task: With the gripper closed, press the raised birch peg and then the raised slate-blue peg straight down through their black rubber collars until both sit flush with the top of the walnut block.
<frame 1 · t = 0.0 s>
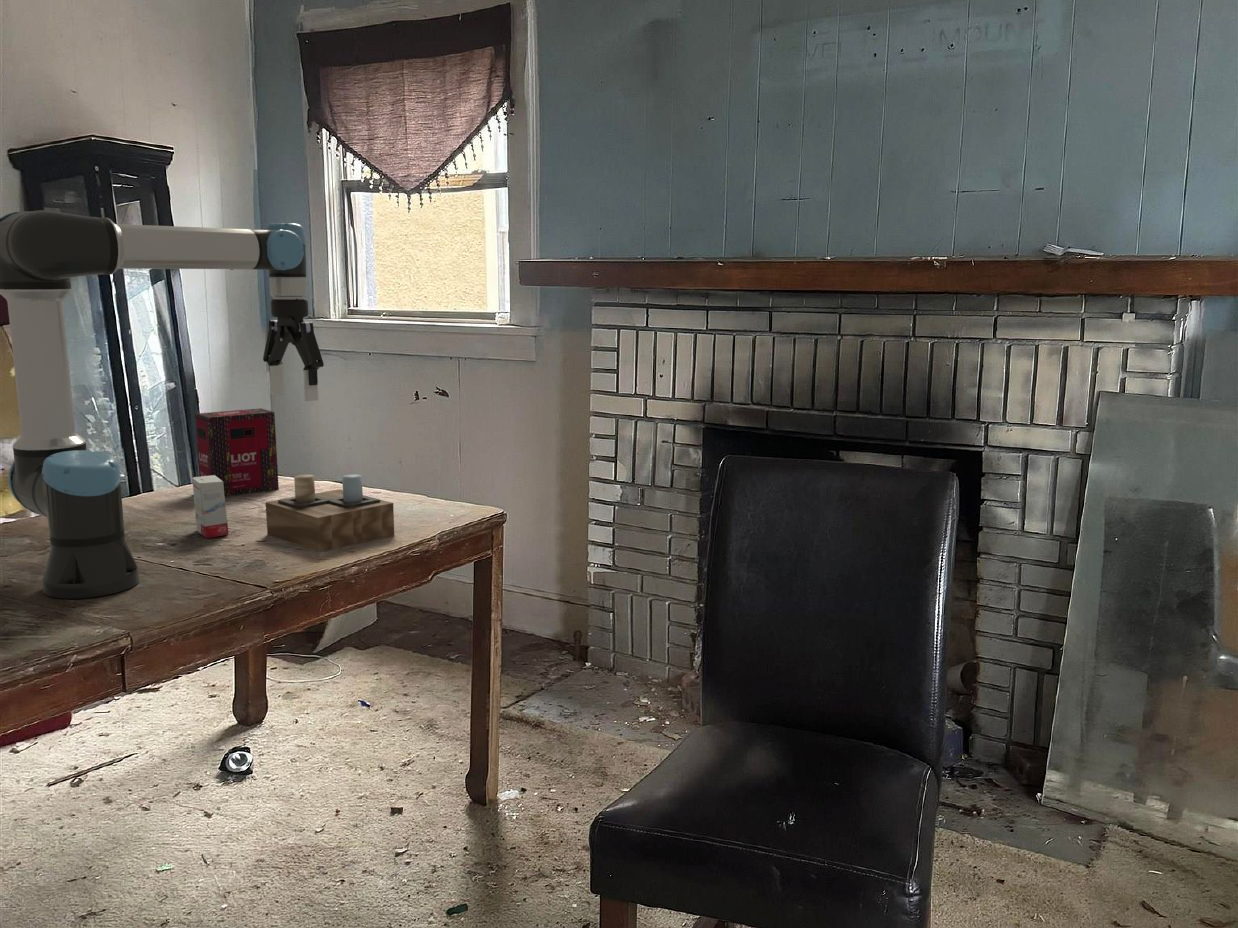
hand: (294, 398, 219), 28 cm above the table, fingers open, 13 cm apart
birch peg rear: (305, 494, 213), point 9 cm above the table, slide at 5.0 cm
walnut block: (330, 534, 215), on the table
slate peg front: (352, 493, 214), point 9 cm above the table, slide at 5.0 cm
box: (240, 491, 257), on the table
ink box: (211, 534, 216), on the table
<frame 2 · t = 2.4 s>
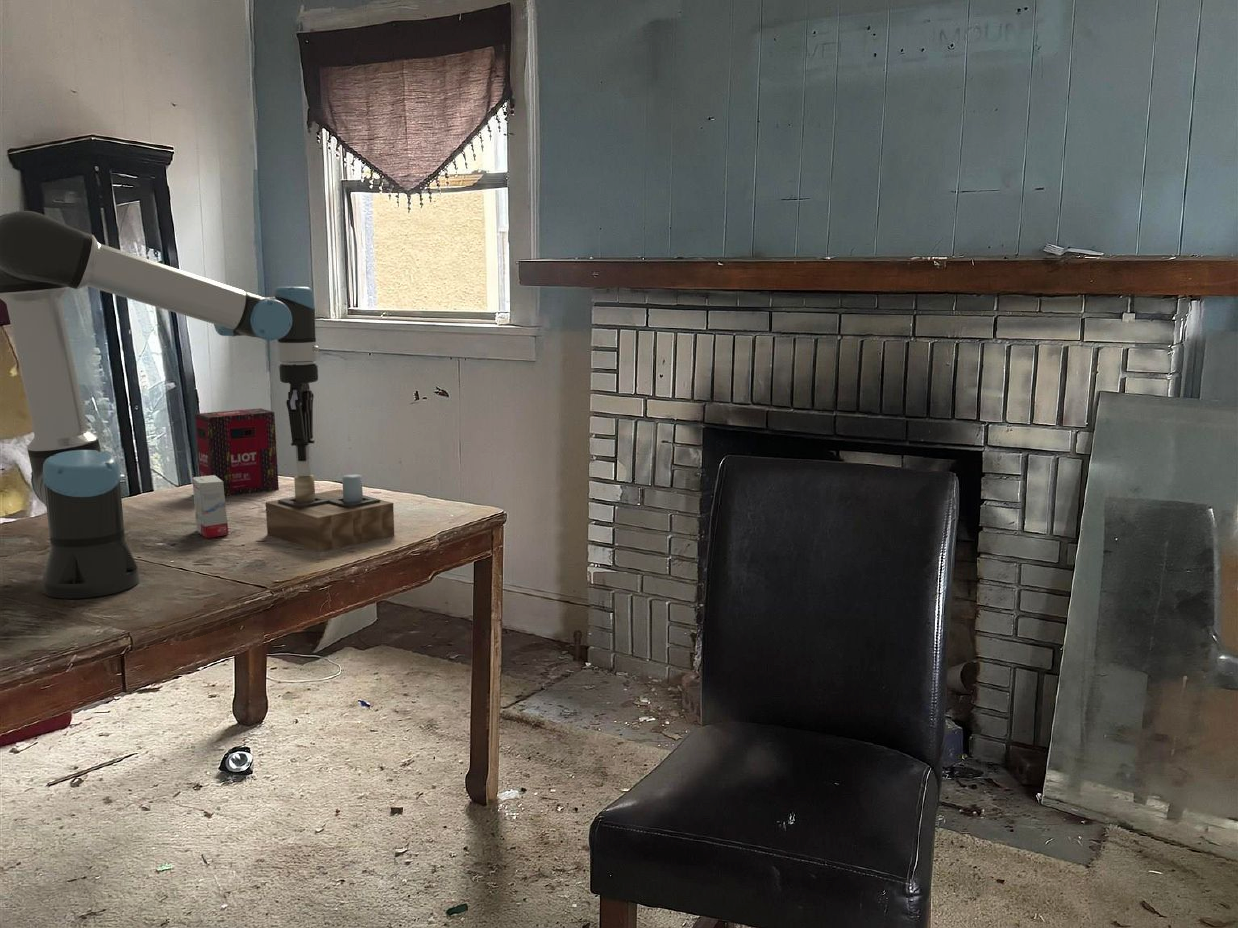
hand: (304, 475, 213), 13 cm above the table, fingers closed
birch peg rear: (305, 494, 213), point 9 cm above the table, slide at 5.0 cm, touching gripper
everything else where it was.
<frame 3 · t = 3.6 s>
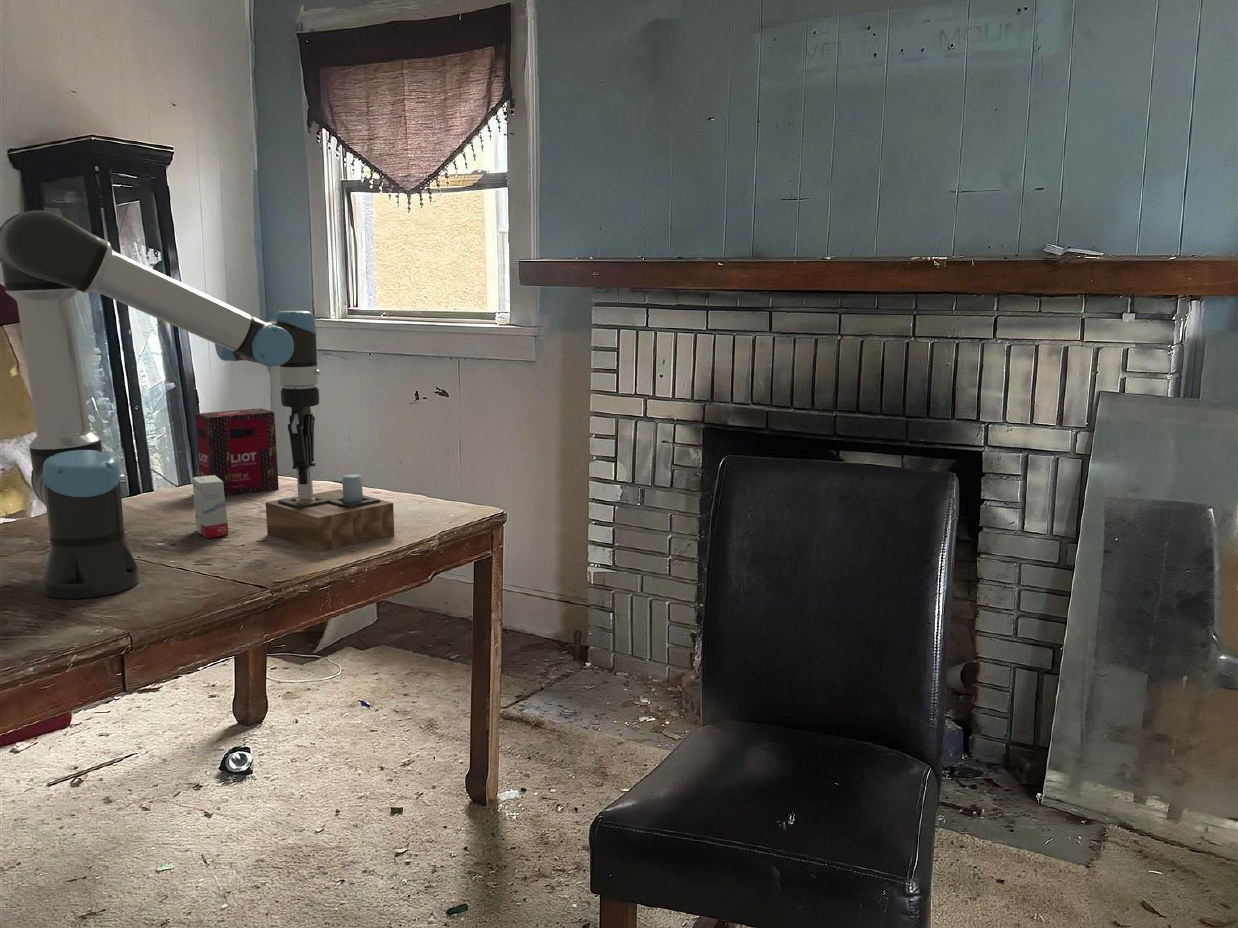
hand: (305, 498, 214), 8 cm above the table, fingers closed
birch peg rear: (306, 516, 214), point 4 cm above the table, slide at 0.1 cm, touching gripper
everything else where it was.
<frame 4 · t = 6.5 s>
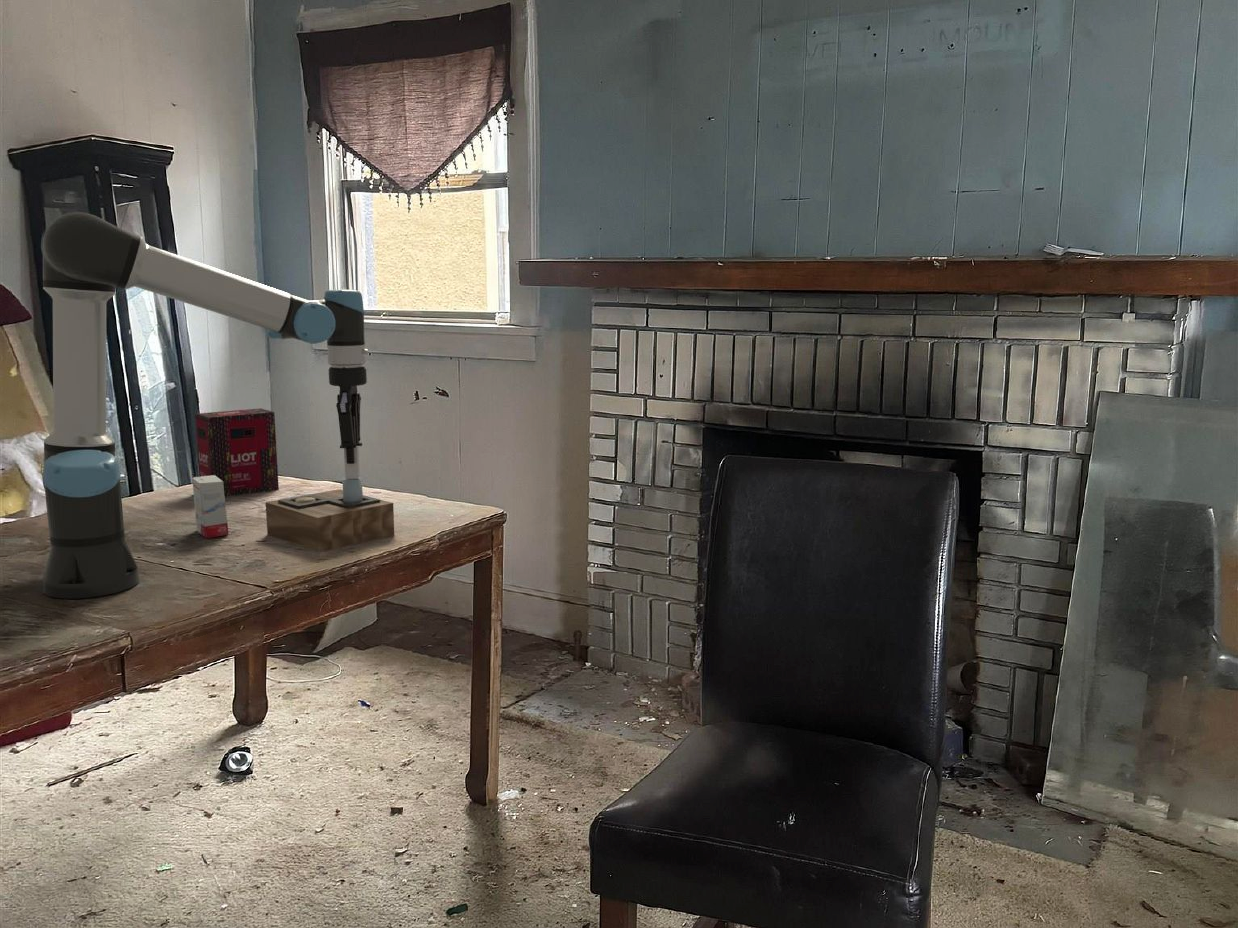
hand: (352, 477, 213), 12 cm above the table, fingers closed
birch peg rear: (306, 516, 214), point 4 cm above the table, slide at 0.1 cm
slate peg front: (352, 496, 214), point 8 cm above the table, slide at 4.4 cm, touching gripper
everything else where it was.
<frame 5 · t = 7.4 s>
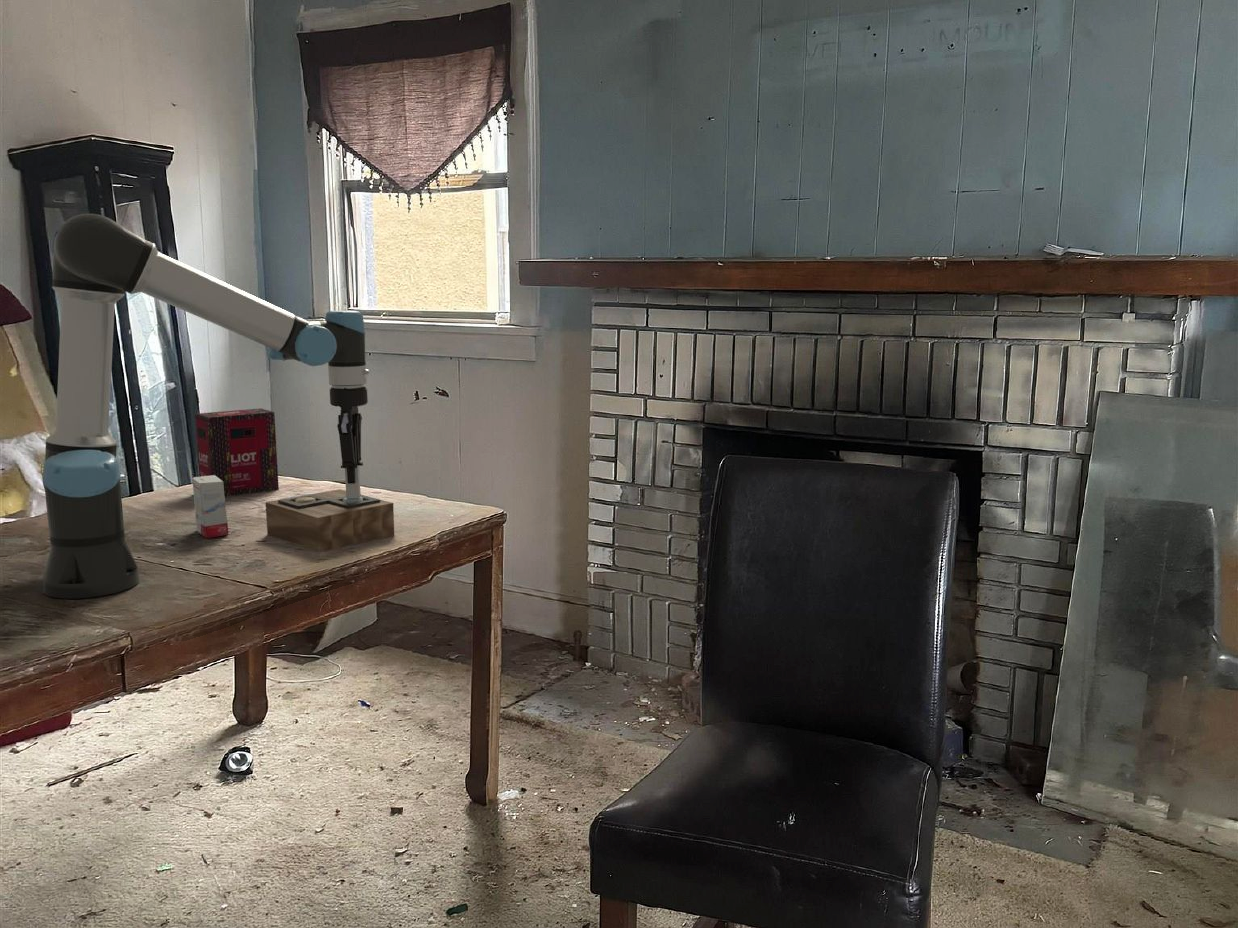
hand: (353, 497, 214), 8 cm above the table, fingers closed
slate peg front: (353, 515, 215), point 4 cm above the table, slide at 0.2 cm, touching gripper
everything else where it was.
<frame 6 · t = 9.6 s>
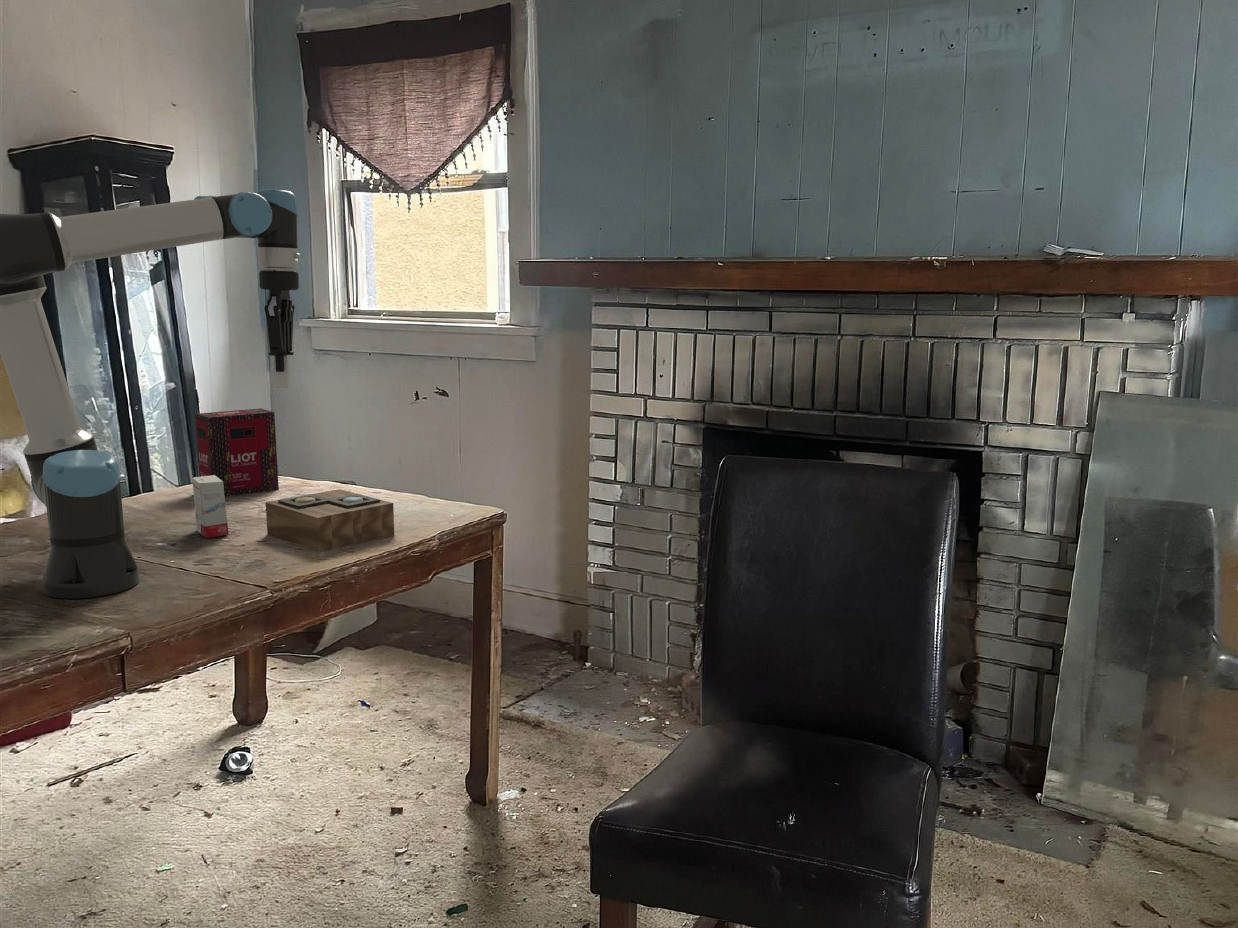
hand: (282, 387, 207), 32 cm above the table, fingers closed
slate peg front: (353, 516, 215), point 4 cm above the table, slide at 0.1 cm
everything else where it was.
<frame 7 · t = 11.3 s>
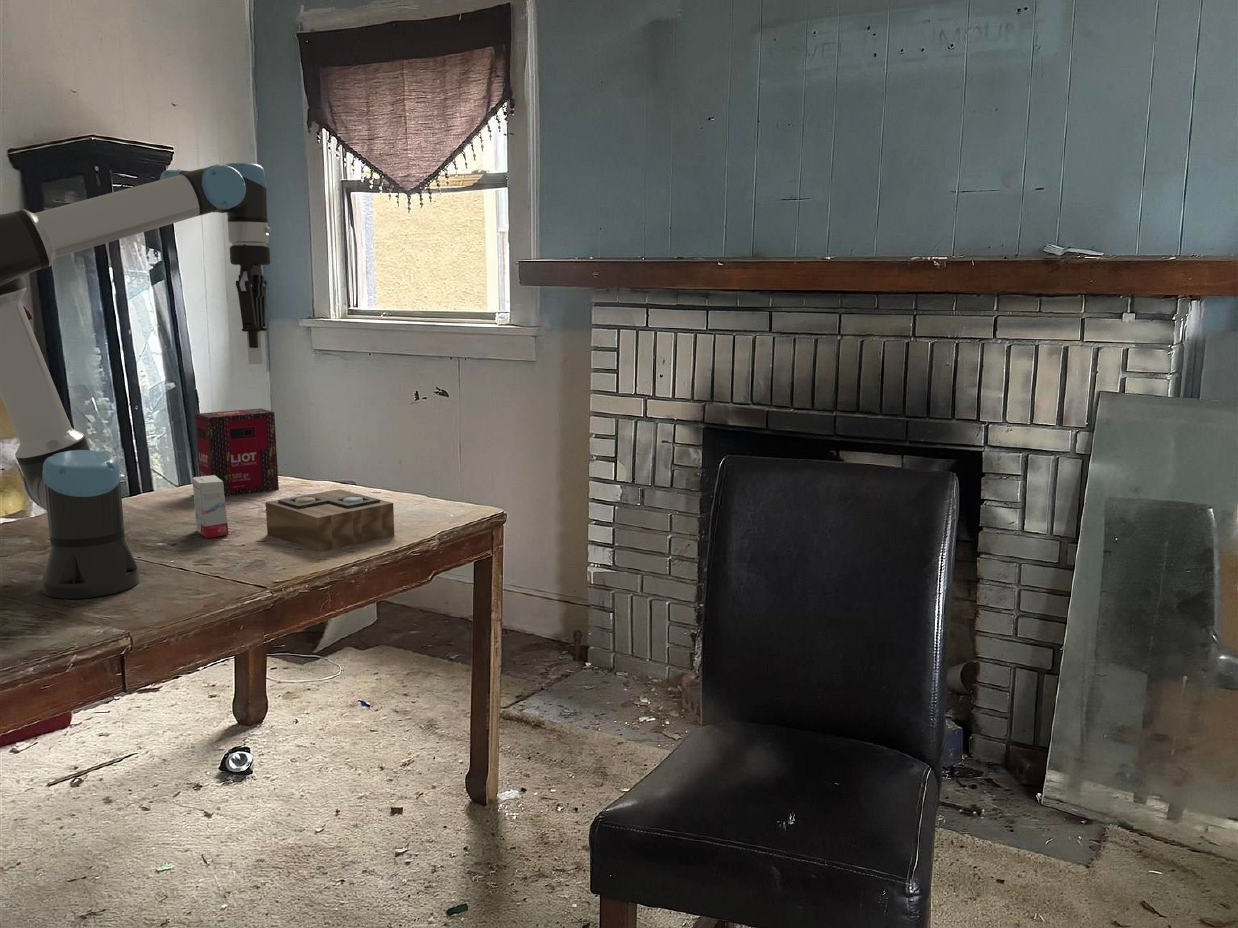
hand: (256, 363, 206), 36 cm above the table, fingers closed
nothing on the table moved.
at the end: birch peg rear slide at 0.1 cm; slate peg front slide at 0.1 cm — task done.
